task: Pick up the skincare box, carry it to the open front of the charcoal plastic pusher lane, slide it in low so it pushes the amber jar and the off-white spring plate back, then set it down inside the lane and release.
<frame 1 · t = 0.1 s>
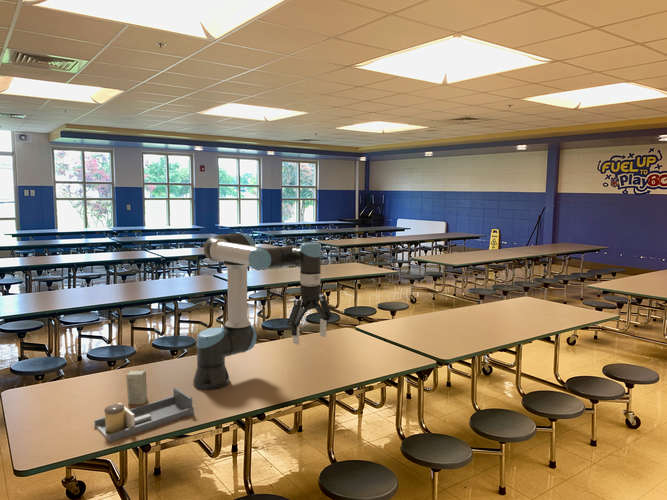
hand: (309, 340, 177), 28 cm above the table, fingers open, 13 cm apart
jar: (115, 429, 164), resting on lane
pusher: (137, 413, 169), point 4 cm above the table, slide at 0.0 cm
lane: (145, 420, 171), on the table
skincare box: (137, 402, 186), on the table
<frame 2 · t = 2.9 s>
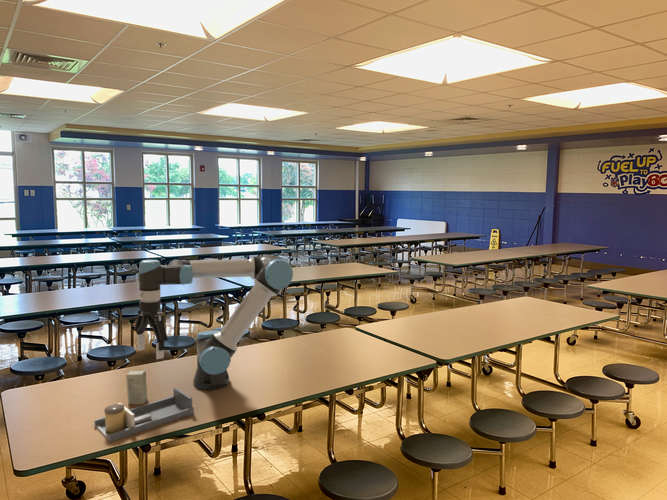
hand: (150, 354, 183), 20 cm above the table, fingers open, 13 cm apart
nothing on the table moved.
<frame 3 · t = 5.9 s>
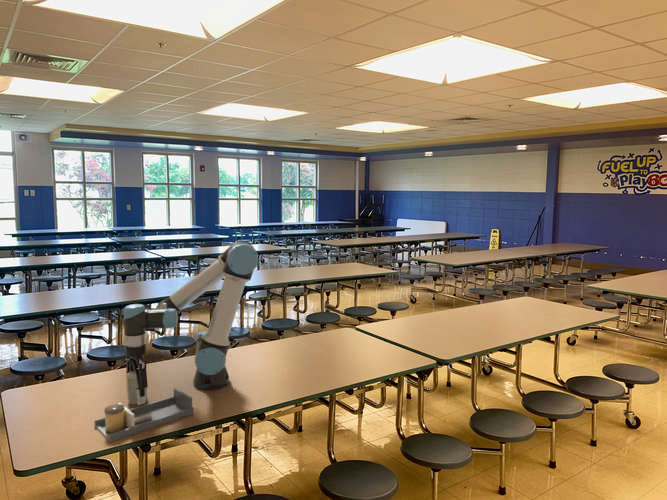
hand: (137, 400, 186), 1 cm above the table, fingers closed on skincare box, 7 cm apart
skincare box: (137, 402, 186), on the table, touching gripper
everything else where it was.
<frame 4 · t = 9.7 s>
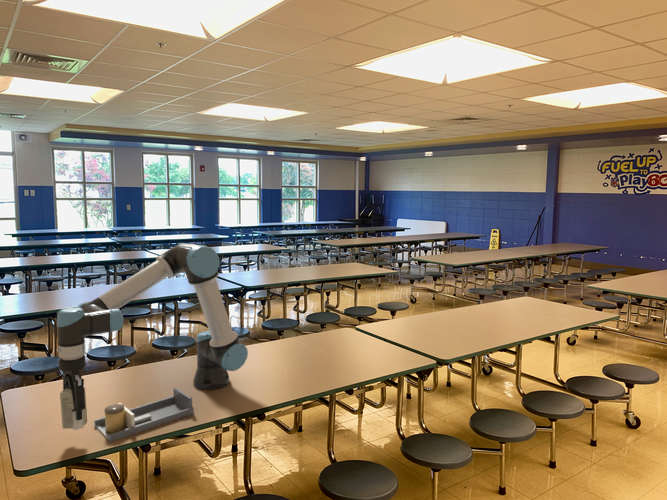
hand: (74, 424, 154), 7 cm above the table, fingers closed on skincare box, 7 cm apart
skincare box: (74, 426, 154), point 6 cm above the table, touching gripper
everything else where it was.
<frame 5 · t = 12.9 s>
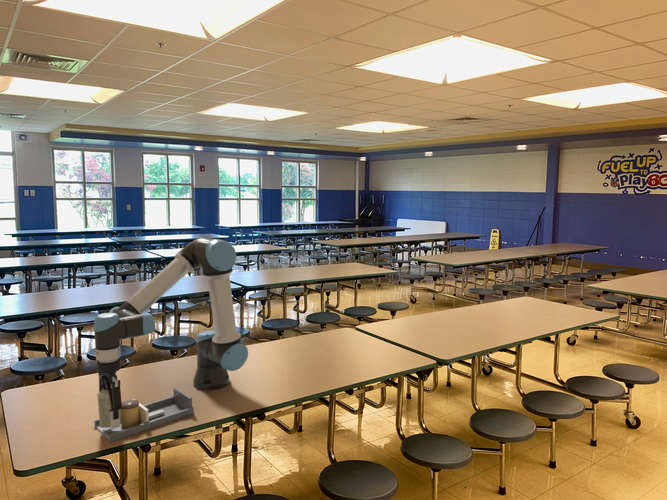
hand: (111, 423, 162), 3 cm above the table, fingers closed on skincare box, 7 cm apart
jar: (130, 424, 167), resting on lane, touching skincare box, pusher
pusher: (151, 409, 172), point 4 cm above the table, slide at 5.0 cm, touching jar
skincare box: (111, 425, 162), point 2 cm above the table, touching gripper, jar
when the fingers open (2 cm above the table, at t = 13.8 s): skincare box stays where it is, resting on jar, lane.
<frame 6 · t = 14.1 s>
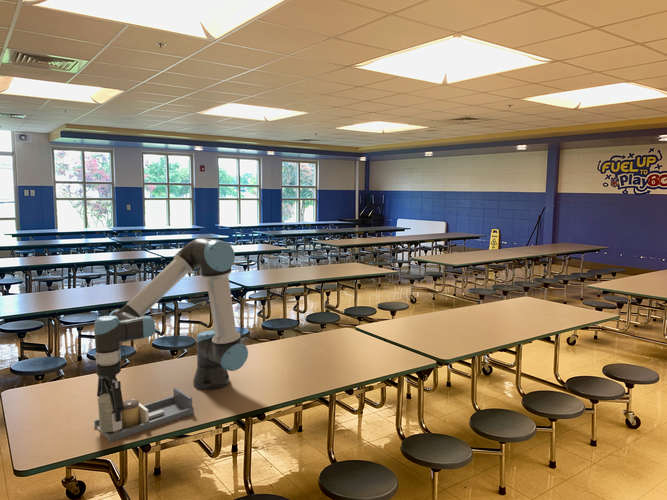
hand: (111, 423, 162), 3 cm above the table, fingers open, 11 cm apart
jar: (130, 424, 167), resting on lane, touching skincare box, pusher
skincare box: (111, 429, 163), point 1 cm above the table, touching jar, lane
everything else where it was.
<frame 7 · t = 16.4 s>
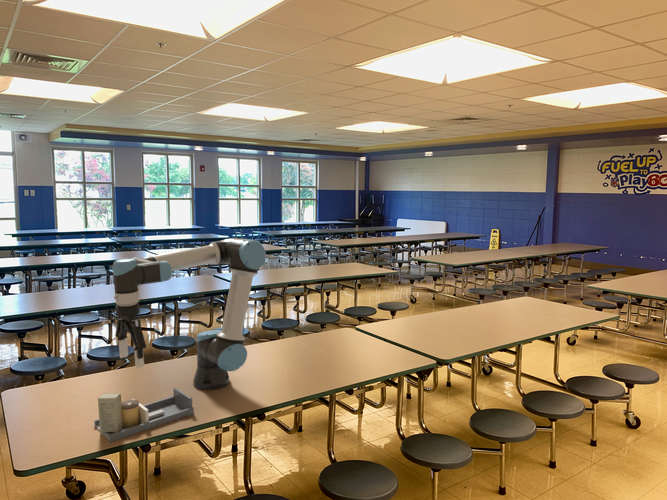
hand: (131, 361, 167), 22 cm above the table, fingers open, 13 cm apart
nothing on the table moved.
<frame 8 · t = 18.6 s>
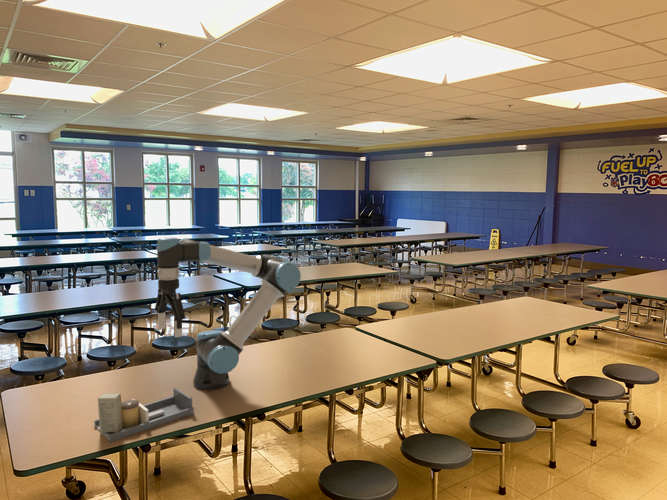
hand: (170, 332, 181), 29 cm above the table, fingers open, 13 cm apart
nothing on the table moved.
at the end: skincare box inside the target area on the lane (2.4 cm from its centre), point 0.6 cm above the lane's base; skincare box tilted 1°; pusher slide at 4.9 cm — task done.
